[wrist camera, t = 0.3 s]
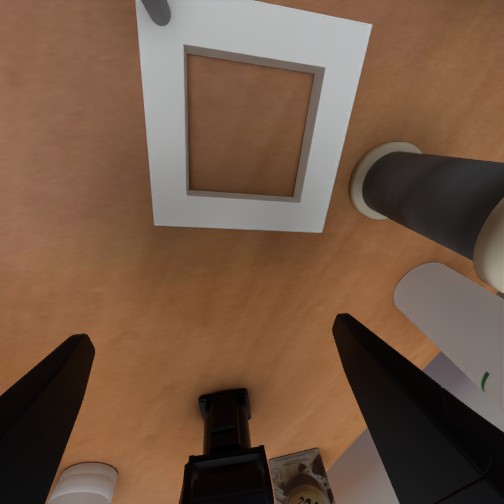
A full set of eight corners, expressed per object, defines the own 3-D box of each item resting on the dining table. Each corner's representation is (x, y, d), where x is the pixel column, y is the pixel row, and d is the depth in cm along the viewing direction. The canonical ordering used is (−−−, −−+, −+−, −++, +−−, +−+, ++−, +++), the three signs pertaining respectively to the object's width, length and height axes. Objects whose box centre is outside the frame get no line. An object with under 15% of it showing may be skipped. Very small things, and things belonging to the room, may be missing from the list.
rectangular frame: (313, 224, 23) (386, 294, 13) (131, 215, 20) (53, 294, 11) (355, 35, 17) (548, -95, 7) (102, -13, 14) (-145, -329, 4)
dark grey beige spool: (409, 212, 24) (591, 288, 12) (345, 219, 23) (473, 307, 12) (426, 138, 21) (688, 147, 9) (353, 145, 20) (536, 164, 9)
